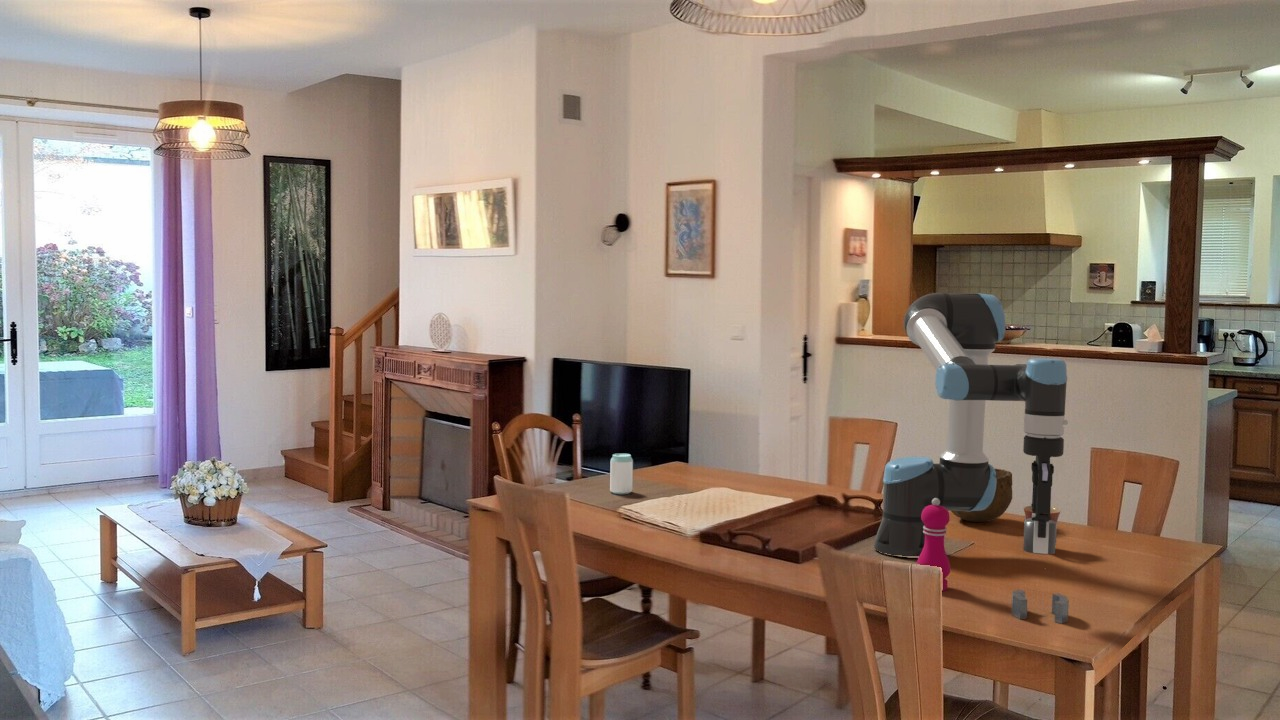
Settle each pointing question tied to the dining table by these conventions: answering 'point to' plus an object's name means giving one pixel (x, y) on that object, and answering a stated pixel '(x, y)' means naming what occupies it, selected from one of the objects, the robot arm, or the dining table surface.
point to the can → (621, 474)
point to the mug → (1053, 513)
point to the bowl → (998, 503)
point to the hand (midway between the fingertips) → (1039, 549)
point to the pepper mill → (935, 538)
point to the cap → (1030, 536)
